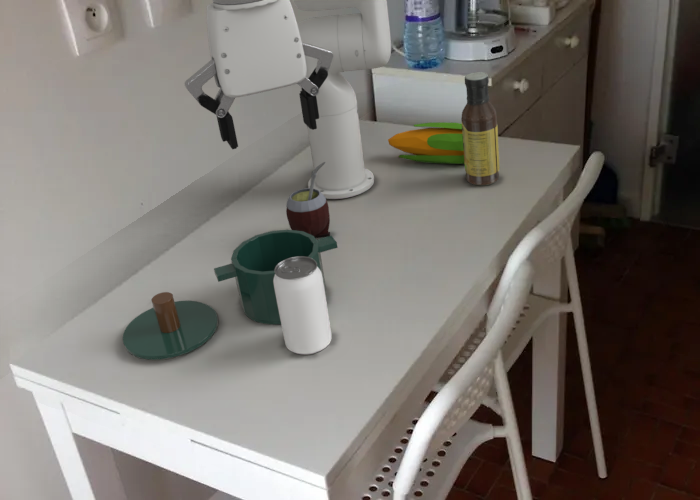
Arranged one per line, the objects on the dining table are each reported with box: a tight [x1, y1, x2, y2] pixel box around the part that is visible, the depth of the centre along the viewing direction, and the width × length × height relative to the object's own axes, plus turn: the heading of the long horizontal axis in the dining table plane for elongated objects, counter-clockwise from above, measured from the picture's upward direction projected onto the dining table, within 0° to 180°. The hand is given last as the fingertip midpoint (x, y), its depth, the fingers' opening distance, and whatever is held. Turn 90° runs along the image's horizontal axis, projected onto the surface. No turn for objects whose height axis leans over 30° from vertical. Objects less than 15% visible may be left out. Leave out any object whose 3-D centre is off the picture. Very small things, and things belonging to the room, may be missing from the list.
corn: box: [387, 121, 465, 165], centre depth 156 cm, size 7×8×20 cm
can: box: [273, 256, 333, 356], centre depth 107 cm, size 6×6×12 cm
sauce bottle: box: [461, 71, 501, 186], centre depth 143 cm, size 6×6×20 cm
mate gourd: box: [285, 162, 331, 239], centre depth 132 cm, size 8×8×15 cm
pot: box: [213, 229, 338, 325], centre depth 118 cm, size 13×18×8 cm
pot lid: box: [122, 291, 219, 361], centre depth 114 cm, size 14×14×6 cm
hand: (272, 135), depth 95 cm, fingers open, 9 cm apart
